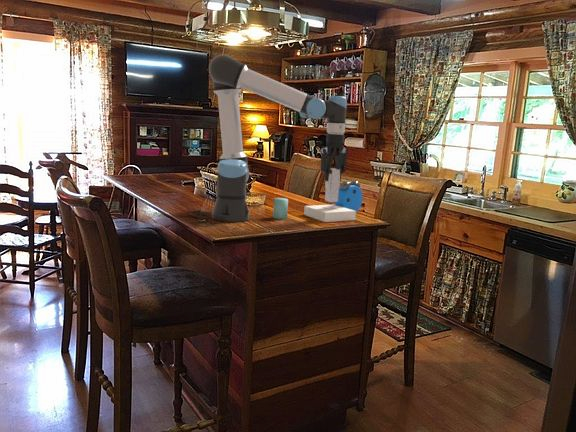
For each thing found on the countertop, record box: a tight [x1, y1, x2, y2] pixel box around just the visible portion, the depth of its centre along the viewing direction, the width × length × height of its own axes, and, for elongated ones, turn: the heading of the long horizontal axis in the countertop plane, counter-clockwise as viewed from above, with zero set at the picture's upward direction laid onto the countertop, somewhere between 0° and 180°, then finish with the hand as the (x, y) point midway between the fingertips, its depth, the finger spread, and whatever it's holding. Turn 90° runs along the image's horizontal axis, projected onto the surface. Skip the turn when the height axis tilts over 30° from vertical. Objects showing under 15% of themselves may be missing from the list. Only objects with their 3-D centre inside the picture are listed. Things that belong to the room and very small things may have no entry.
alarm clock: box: [334, 180, 364, 213], centre depth 227 cm, size 13×6×15 cm, turn 131°
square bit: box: [324, 167, 340, 203], centre depth 213 cm, size 4×4×14 cm
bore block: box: [303, 204, 357, 223], centre depth 216 cm, size 16×16×4 cm
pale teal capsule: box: [272, 197, 289, 220], centre depth 208 cm, size 6×6×8 cm
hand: (332, 188), depth 214 cm, fingers closed on square bit, 4 cm apart
